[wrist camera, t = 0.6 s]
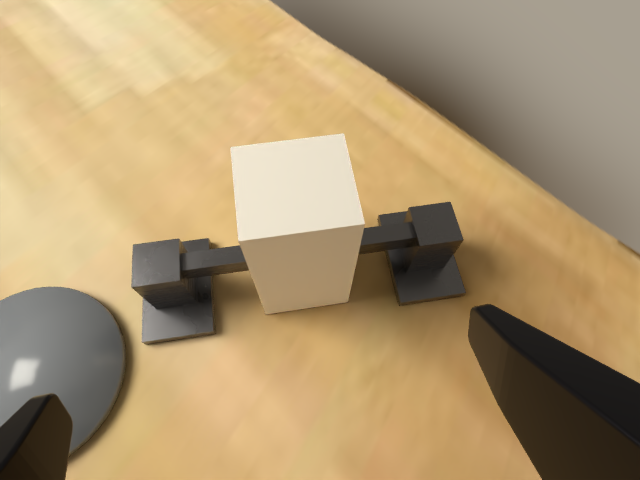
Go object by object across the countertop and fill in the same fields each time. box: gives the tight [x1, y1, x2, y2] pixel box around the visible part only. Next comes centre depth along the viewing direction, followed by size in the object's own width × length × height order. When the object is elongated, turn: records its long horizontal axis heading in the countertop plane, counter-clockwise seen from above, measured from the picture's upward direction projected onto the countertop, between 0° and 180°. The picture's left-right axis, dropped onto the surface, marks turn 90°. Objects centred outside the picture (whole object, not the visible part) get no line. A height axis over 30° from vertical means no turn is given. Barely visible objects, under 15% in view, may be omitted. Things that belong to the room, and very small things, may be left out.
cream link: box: [231, 133, 365, 314], centre depth 22 cm, size 5×5×10 cm
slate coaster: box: [0, 287, 126, 455], centre depth 24 cm, size 10×10×1 cm
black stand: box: [131, 202, 466, 344], centre depth 25 cm, size 6×19×4 cm, turn 99°
